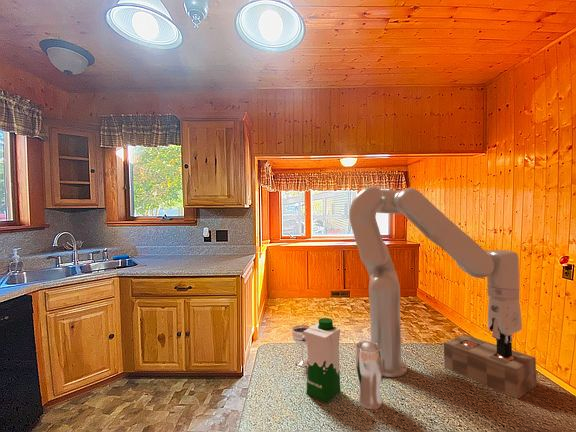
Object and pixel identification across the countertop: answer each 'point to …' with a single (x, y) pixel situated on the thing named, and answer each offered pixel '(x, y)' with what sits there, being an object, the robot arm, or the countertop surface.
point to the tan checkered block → (491, 366)
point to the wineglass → (300, 339)
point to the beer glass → (369, 374)
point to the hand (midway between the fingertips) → (504, 354)
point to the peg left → (470, 344)
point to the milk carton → (323, 360)
